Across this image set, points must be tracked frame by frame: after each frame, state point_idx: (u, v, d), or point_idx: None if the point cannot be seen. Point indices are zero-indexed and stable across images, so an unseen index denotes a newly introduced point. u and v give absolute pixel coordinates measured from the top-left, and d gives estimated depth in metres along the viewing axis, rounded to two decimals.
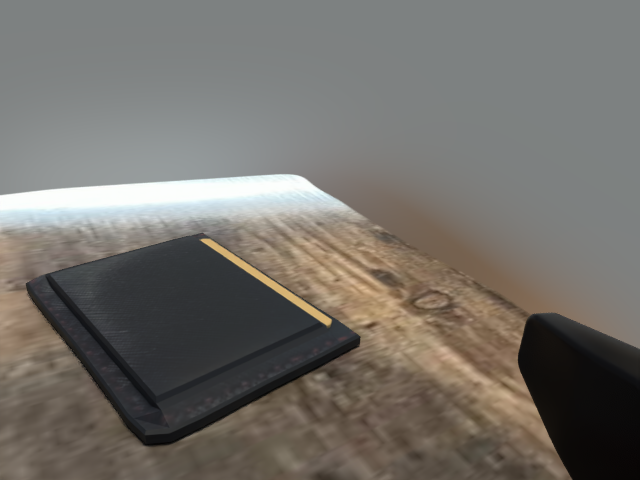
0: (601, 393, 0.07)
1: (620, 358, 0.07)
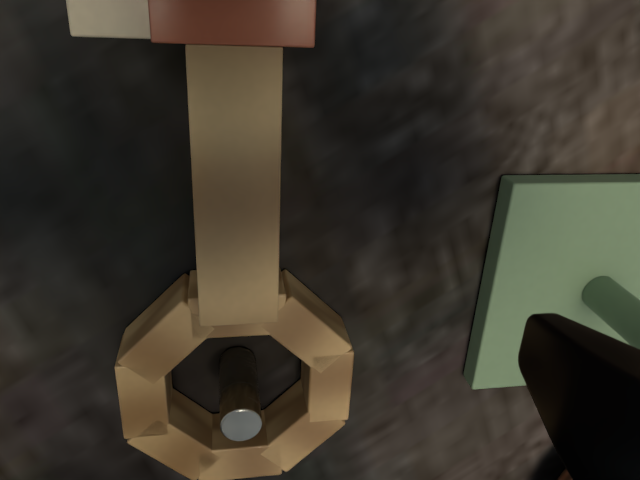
0: (601, 393, 0.07)
1: (620, 358, 0.07)
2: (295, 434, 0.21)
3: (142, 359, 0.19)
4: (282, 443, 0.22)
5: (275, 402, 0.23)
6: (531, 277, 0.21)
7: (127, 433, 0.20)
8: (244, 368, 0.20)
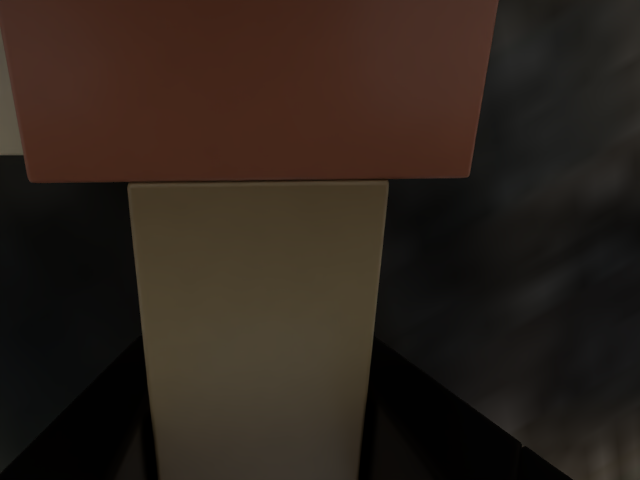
0: None
1: (383, 375, 0.07)
2: None
3: None
4: None
5: None
6: None
7: None
8: None
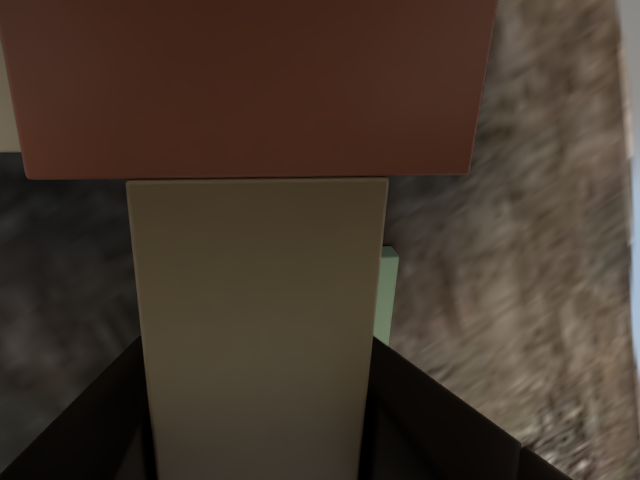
0: None
1: (382, 375, 0.07)
2: None
3: None
4: None
5: None
6: None
7: None
8: None
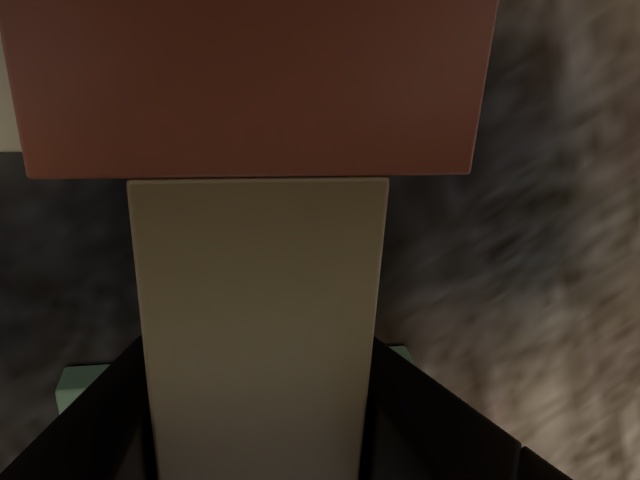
0: None
1: (383, 375, 0.07)
2: None
3: None
4: None
5: None
6: None
7: None
8: None
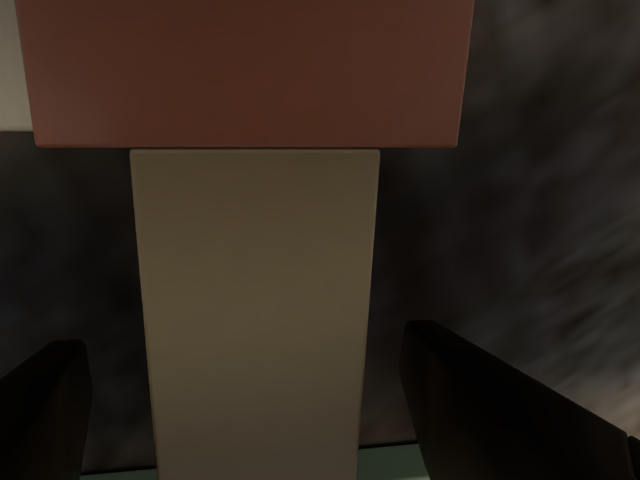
0: (453, 406, 0.07)
1: (473, 369, 0.07)
2: None
3: None
4: None
5: None
6: None
7: None
8: None
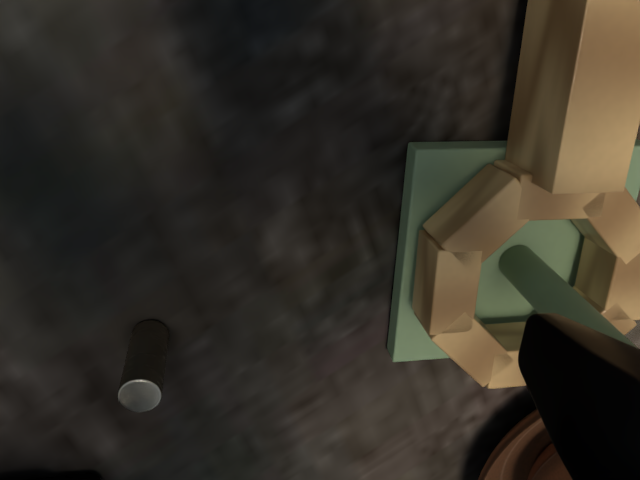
0: (601, 393, 0.07)
1: (620, 358, 0.07)
2: None
3: (466, 242, 0.18)
4: None
5: None
6: None
7: (434, 328, 0.19)
8: (150, 340, 0.20)
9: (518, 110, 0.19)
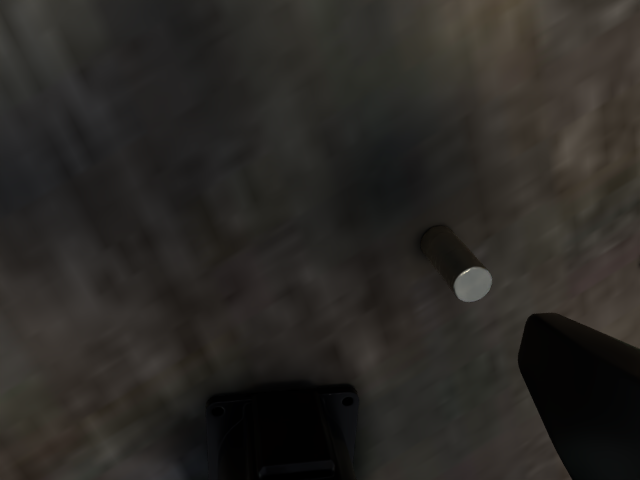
0: (601, 393, 0.07)
1: (620, 358, 0.07)
2: None
3: None
4: None
5: None
6: None
7: None
8: (457, 240, 0.21)
9: None
